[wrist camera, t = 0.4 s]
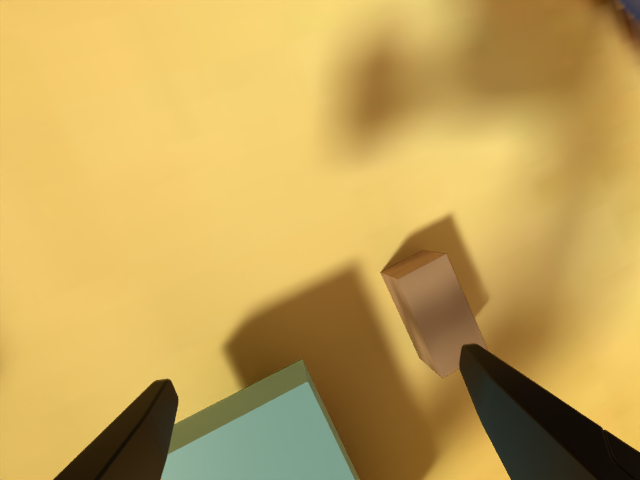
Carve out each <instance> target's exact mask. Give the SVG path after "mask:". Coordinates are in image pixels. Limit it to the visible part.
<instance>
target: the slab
mask: <svg viewBox="0 0 640 480" xmlns="http://www.w3.org/2000/svg"><path fill="white" fill-rule="evenodd" d="M161 480H360V479H359V477H358V474H357V472H356V470H355V468H354V466H353V464H352V462H351V460H350V458H349V456H348V453H347V451H346V449H345V447H344V445H343V443H342V441H341V439H340V437H339V435H338V433H337V430H336V428H335V426H334V424H333V422H332V420H331V418H330V416H329V414H328V412H327V409H326V407H325V405H324V403H323V401H322V399H321V397H320V395H319V393H318V391H317V388H316V386H315V384H314V382H313V380H312V378H311V376H310V374H309V372H308V370H307V368H306V365H305V363H304V361H303V359H301V360H299V361H297V362H295V363H293V364H291V365H290V366H288V367H286V368H284V369H282V370H280V371H278V372H276V373H274V374H272V375H270V376H268V377H266V378H264V379H262V380H260V381H258V382H256V383H254V384H252V385H250V386H248V387H247V388H245V389H243V390H241V391H239V392H237V393H235V394H233V395H231V396H229V397H227V398H225V399H223V400H221V401H219V402H217V403H215V404H213V405H211V406H209V407H207V408H205V409H204V410H202V411H200V412H198V413H196V414H194V415H192V416H190V417H188V418H186V419H184V420H182V421H180V422H178V423H176V424H174V427H173V432H172V437H171V442H170V446H169V451H168V455H167V460H166V463H165V467H164V470H163V473H162V476H161Z"/></svg>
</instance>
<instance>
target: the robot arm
mask: <svg viewBox="0 0 640 480" xmlns="http://www.w3.org/2000/svg"><path fill="white" fill-rule="evenodd" d="M459 368H460V371H461V374H462V376H463V379H464V381H465V384H466V386H467V389H468V391H469V394H470V396H471V399H472V401H473V404H474V406H475V409H476V411H477V414H478V416H479V418H480V421H481V423H482V425H483V427H484V429H485V431H486V433H487V434H488V436H489V438H490V440H491V442H492V444H493V446H494V448H495V450H496V452H497V454H498V456H499V457H500V459H501V461H502V463H503V465H504V467H505V469H506V471H507V473H508V475H509V477H510V479H511V480H640V452H639V451H637V450H635V449H634V448H632V447H631V446H629V445H628V444H626V443H625V442H623V441H622V440H620V439H619V438H617V437H616V436H614V435H613V434H611V433H610V432H608V431H607V430H603V428H602V427H601V426H599V425H598V424H596V423H595V422H593V421H592V420H590V419H589V418H587V417H586V416H584V415H583V414H581V413H580V412H578V411H577V410H575V409H574V408H572V407H571V406H569V405H568V404H566V403H565V402H563V401H562V400H560V399H559V398H557V397H556V396H554V395H553V394H551V393H550V392H548V391H547V390H546V389H544V388H543V387H541V386H540V385H538V384H537V383H535V382H534V381H532V380H531V379H529V378H528V377H526V376H525V375H523V374H522V373H520V372H519V371H517V370H516V369H514V368H513V367H511V366H510V365H508V364H507V363H505V362H504V361H502V360H501V359H499V358H498V357H496V356H495V355H493V354H492V353H490V352H489V351H487V350H486V349H484V348H483V347H481V346H480V345H478V344H476V343H471V344H464V345H462V348H461V354H460V360H459ZM177 407H178V396H177V393H176V391H175V389H174V386H173V384H172V382H171V380H170V379H162V380H156V381H154V382H153V383H152V384H151V385H150V386H149V387H148V388H147V389H146V390H145V391H144V392H143V393H142V394H141V395H140V396H139V397H138V398H136V399H135V400H134V401H133V402H132V403H131V404H130V405H129V406H128V407H127V408H126V409H125V410H124V411H123V412H122V413H121V414H120V415H119V416H118V417H117V418H116V419H115V420H114V421H113V422H112V423H111V424H110V425H109V426H108V427H107V428H106V429H105V430H104V431H103V432H102V433H101V434H100V435H98V436H97V437H96V438H95V439H94V440H93V441H92V442H91V443H90V444H89V445H88V446H87V447H86V448H85V449H84V450H83V451H82V452H81V453H80V454H79V455H78V456H77V457H76V458H75V459H74V460H73V461H72V462H71V463H70V464H69V465H68V466H67V467H66V468H65V469H64V470H63V471H62V472H61V473H59V474H58V475H57V476H56V477H55V478H54V479H53V480H161V476H162V473H163V470H164V467H165V463H166V460H167V455H168V451H169V446H170V442H171V437H172V432H173V427H174V422H175V417H176V412H177Z"/></svg>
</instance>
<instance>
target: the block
mask: <svg viewBox="0 0 640 480" xmlns="http://www.w3.org/2000/svg"><path fill="white" fill-rule="evenodd" d="M380 273H381V275H382V277H383V279H384V282H385V284H386V286H387V288H388V290H389V292H390V295H391V297H392V299H393V301H394V303H395V305H396V308H397V310H398V312H399V314H400V316H401V318H402V321H403V323H404V325H405V327H406V329H407V332H408V334H409V336H410V338H411V340H412V342H413V345H414V347H415V349H416V351H417V353H418V355H419V358H420V359H421V360H422V361H423V362H425V363H426V364H427V365H428V366H429V367H430V368H431V369H432V370H434V371H435V372H436V373H437V374H438V375H439V376H440V377H442V378H444V377H446V376H448V375H449V374H451V373H453V372H454V371H456V370H458V369H460V368H459V360H460V354H461V348H462V345H464V344H471V343H476V344H478V345H480V346H481V347H483V348H484V349H486V350H487V351H488V349H487V346H486V344H485V342H484V339H483V337H482V335H481V333H480V330H479V328H478V326H477V323H476V321H475V319H474V316H473V314H472V312H471V309H470V307H469V305H468V303H467V300H466V298H465V296H464V293H463V291H462V289H461V286H460V284H459V282H458V279H457V277H456V275H455V273H454V270H453V268H452V266H451V263H450V261H449V259H448V256H447V254H444V253H437V252H431V251H424V250H423V251H421V252H419V253H417V254H415V255H413V256H411V257H409V258H407V259H405V260H403V261H401V262H399V263H398V264H396V265H394V266H392V267H390V268H388V269H386V270H384V271H382V272H380Z"/></svg>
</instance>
